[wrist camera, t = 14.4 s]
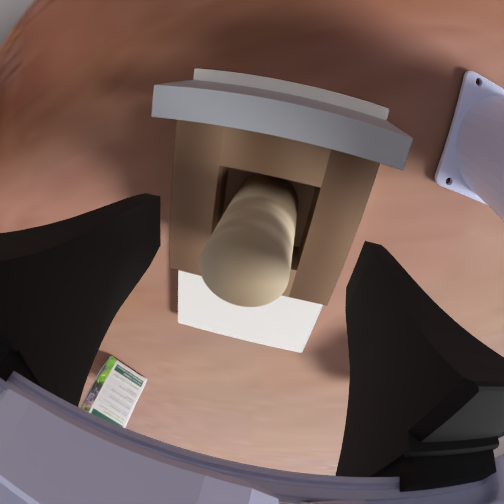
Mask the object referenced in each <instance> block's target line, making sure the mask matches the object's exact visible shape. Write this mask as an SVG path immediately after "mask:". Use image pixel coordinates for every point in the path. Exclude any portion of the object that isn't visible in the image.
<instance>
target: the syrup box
mask: <svg viewBox="0 0 504 504" xmlns="http://www.w3.org/2000/svg"><path fill="white" fill-rule="evenodd" d="M146 382H147V378H145V377H143V376H141V375H139V374H138V373H136V372H135V371H133V370H132V369H130V368H129V367H127V366H126V365H124V364H123V363H121V362H120V361H118V360H117V359H116V358H114V357H113V356H110V357H109V358H108V360H107V361H106V363H105V364H104V365H103V367H102V368H101V370H100V371H99V373H98V375H97V376H96V378H95V380H94V382H93V383H92V385H91V387H90V389H89V391H88V392H87V394H86V396H85V398H84V399H83V401H82V403H81V405H80V407H79V408H81V409H83V410H85V411H87V412H89V413H91V414H93V415H96V416H98V417H100V418H102V419H105V420H107V421H109V422H111V423H114V424H116V425H119V426H121V427H123V428H125V427H126V425H127V422H128V420H129V418H130V416H131V413H132V411H133V409H134V407H135V405H136V403H137V400H138V398H139V396H140V394H141V392H142V390H143V388H144V386H145V384H146Z"/></svg>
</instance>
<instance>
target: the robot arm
mask: <svg viewBox="0 0 504 504" xmlns="http://www.w3.org/2000/svg"><path fill="white" fill-rule="evenodd" d="M477 78H478V79H479V85H477V84H476V79H477ZM434 178H435V181H436V183H437V184H438V185H440V186H442V187H445V188H447V189H450V190H452V191H455V192H457V193H460V194H462V195H465V196H467V197H470V198H472V199H474V200H477V201H479V202H481V203H484V204H486V205H488V206H489V207H490V208H491V209H492V210H493V211H494V212H495V213H496V214H497V215H498V216H499V217H500V218H501V219H502V220H503V221H504V89H503V88H501V87H500V86H498V85H496V84H495V83H493V82H491V81H490V80H488V79H486V78H485V77H483V76H481V75H479V74H478V73H476V72H474V71H466V72H465V74H464V77H463V82H462V86H461V90H460V94H459V98H458V102H457V106H456V110H455V113H454V117H453V120H452V124H451V127H450V131H449V134H448V137H447V140H446V144H445V147H444V150H443V153H442V156H441V159H440V162H439V165H438V168H437V170H436V173H435V177H434ZM447 178H450V182H449V183H446V179H447ZM159 247H160V196H156V195H151V194H146V193H145V194H140V195H136V196H133V197H129V198H126V199H123V200H121V201H118V202H115V203H112V204H110V205H107V206H104V207H101V208H99V209H96V210H93V211H90V212H87V213H84V214H81V215H78V216H76V217H73V218H69V219H66V220H63V221H59V222H55V223H52V224H48V225H44V226H39V227H34V228H29V229H25V230H20V231H13V232H7V233H0V504H287V503H294V504H504V454H503V455H500V456H498V457H496V458H494V453H493V449H496V448H497V447H498V446H499V440H498V435H499V434H500V433H501V432H503V431H504V357H502V356H501V355H499V354H498V353H496V352H495V351H493V350H492V349H490V348H489V347H487V346H486V345H484V344H483V343H482V342H480V341H479V340H478V339H476V338H475V337H474V336H472V335H471V334H470V333H469V332H467V331H466V330H465V329H464V328H462V327H461V326H460V325H459V324H458V323H456V322H455V321H454V320H453V319H452V318H451V317H450V316H449V315H448V314H447V313H445V312H444V311H443V310H442V309H441V308H440V307H439V306H438V305H437V304H436V303H435V302H434V301H433V300H432V299H431V298H430V297H429V296H428V295H427V294H426V293H425V292H424V291H423V290H422V289H421V287H420V286H419V285H418V284H417V283H416V282H415V281H414V280H413V279H412V277H411V276H410V275H409V274H408V273H407V272H406V271H405V269H404V268H403V267H402V266H401V265H400V264H399V263H398V262H397V260H396V259H395V258H394V257H393V256H392V255H391V254H390V253H389V252H388V251H387V250H386V249H385V248H384V247H383V246H382V245H379V244H375V243H371V242H367V241H365V242H364V245H363V248H362V250H361V253H360V255H359V258H358V260H357V263H356V265H355V268H354V270H353V273H352V275H351V278H350V280H349V283H348V285H347V287H346V323H347V334H348V346H349V359H350V385H349V399H348V408H347V417H346V425H345V431H344V437H343V443H342V449H341V454H340V458H339V463H338V467H337V472H336V476H328V475H316V474H306V473H297V472H290V471H282V470H276V469H269V468H263V467H258V466H252V465H247V464H242V463H238V462H233V461H229V460H224V459H220V458H216V457H212V456H208V455H204V454H201V453H197V452H193V451H190V450H186V449H183V448H180V447H177V446H173V445H170V444H167V443H164V442H161V441H158V440H155V439H152V438H150V437H147V436H144V435H141V434H139V433H136V432H134V431H131V430H128V429H126V428H123V427H121V426H119V425H116V424H114V423H111V422H109V421H107V420H105V419H102V418H100V417H98V416H96V415H93V414H91V413H89V412H87V411H85V410H83V409H81V408H79V407H78V404H79V401H80V398H81V394H82V391H83V388H84V385H85V382H86V379H87V377H88V374H89V371H90V369H91V366H92V363H93V361H94V358H95V356H96V354H97V351H98V349H99V347H100V345H101V342H102V340H103V338H104V336H105V334H106V332H107V330H108V328H109V326H110V324H111V322H112V320H113V318H114V317H115V315H116V313H117V312H118V310H119V308H120V307H121V306H122V304H123V303H124V301H125V300H126V298H127V297H128V296H129V294H130V293H131V291H132V290H133V289H134V287H135V286H136V284H137V283H138V282H139V280H140V279H141V277H142V276H143V274H144V273H145V272H146V270H147V269H148V267H149V266H150V264H151V262H152V260H153V259H154V257H155V255H156V253H157V251H158V249H159ZM282 502H285V503H282Z"/></svg>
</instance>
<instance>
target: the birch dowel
mask: <svg viewBox="0 0 504 504" xmlns="http://www.w3.org/2000/svg"><path fill="white" fill-rule="evenodd" d="M297 210H298V197H297V193H296V191H295V189H294V187H293V186H292V184H291V183H290V182H289V181H288V180H286V179H282V178H278V177H274V176H269V175H264V174H260V173H257V174H254V175H252V176H250V177H248V178H247V179H246V180H245V181H244V182H243V183H242V184H241V186H240V187H239V189H238V191H237V192H236V194H235V196H234V197H233V199H232V201H231V203H230V204H229V206H228V208H227V209H226V211H225V213H224V214H223V216H222V218H221V220H220V221H219V223H218V225H217V226H216V228H215V230H214V232H213V233H212V235H211V237H210V239H209V240H208V242H207V244H206V246H205V247H204V249H203V251H202V253H201V256H200V261H199V268H200V273H201V276H202V278H203V281H204V282H205V284H206V285H207V287H208V288H209V289H210V290H211V291H212V292H213V293H214V294H215V295H216V296H218V297H219V298H221V299H222V300H224V301H226V302H228V303H231V304H234V305H237V306H242V307H259V306H263V305H266V304H269V303H271V302H273V301H275V300H276V299H278V298H279V297H280V296H281V295H282V294H283V292H284V291H285V289H286V288H287V285H288V282H289V276H290V269H291V261H292V253H293V245H294V236H295V228H296V219H297Z"/></svg>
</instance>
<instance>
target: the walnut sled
mask: <svg viewBox="0 0 504 504" xmlns="http://www.w3.org/2000/svg"><path fill="white" fill-rule="evenodd" d="M379 164H380V163H378V162H375V161H372V160H368V159H365V158H362V157H358V156H355V155H351V154H348V153H344V152H340V151H337V150H333V149H329V148H325V147H321V146H318V145H313V144H309V143H305V142H301V141H297V140H292V139H288V138H283V137H279V136H274V135H269V134H264V133H259V132H254V131H249V130H243V129H238V128H232V127H226V126H220V125H213V124H207V123H200V122H192V121H185V120H177V123H176V134H175V146H174V160H173V175H172V193H171V217H170V268H172V269H176V270H180V271H183V272H187V273H191V274H195V275H199V276H201V273H200V268H199V261H200V256H201V253H202V251H203V249H204V247H205V246H206V244H207V242H208V240H209V239H210V237H211V235H212V233H213V232H214V230H215V228H216V226H217V225H218V223H219V221H220V220H221V218H222V216H223V214H224V213H225V211H226V209H227V208H228V206H229V204H230V203H231V201H232V199H233V197H234V196H235V194H236V192H237V191H238V189H239V187H240V186H241V184H242V183H243V182H244V181H245V180H246V179H247V178H248V177H250V176H252V175H254V174H257V173H260V174H264V175H269V176H274V177H278V178H282V179H286V180H288V181H289V182H290V183H291V184H292V186H293V187H294V189H295V191H296V193H297V197H298V210H297V219H296V228H295V236H294V245H293V253H292V261H291V269H290V276H289V282H288V285H287V288H286V289H285V291H284V292H283V294H282V296H286V297H291V298H295V299H299V300H304V301H308V302H313V303H317V304H322V305H328V302H329V300H330V298H331V295H332V293H333V291H334V288H335V286H336V283H337V281H338V278H339V276H340V274H341V271H342V269H343V266H344V263H345V261H346V258H347V256H348V253H349V251H350V248H351V245H352V243H353V240H354V237H355V235H356V232H357V229H358V227H359V224H360V221H361V218H362V215H363V213H364V210H365V207H366V204H367V201H368V198H369V195H370V192H371V189H372V186H373V183H374V180H375V177H376V174H377V171H378V168H379Z"/></svg>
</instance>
